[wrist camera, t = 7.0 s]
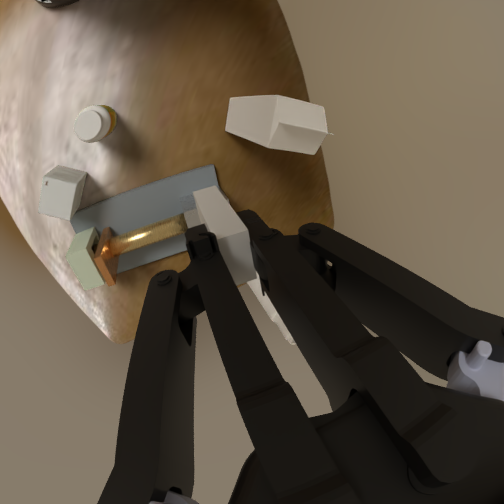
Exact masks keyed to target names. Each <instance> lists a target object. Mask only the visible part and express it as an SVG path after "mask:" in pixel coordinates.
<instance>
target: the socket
mask: <svg viewBox="0 0 504 504" xmlns="http://www.w3.org/2000/svg"><path fill="white" fill-rule="evenodd" d="M99 240H100V238H99V236H98V234H97V231H96V229H95V227H92V228H89V229H87V230H84V231H82V232H80V233H77V234H76V235H75V237H74V239H73V241H72V243H71V245H70V247H69V250H68V252H67V254H66V256H65V257H66V259H67V261H68V263H69V264H70V266H71V268H72V270H73V271H74V273H75V275H76V277H77V278H78V280H79V282H80V283H81V285H82V287H83V288H84V290H85V291H87V290H89V289H92V288H95V287H98V286H101V285H104V284H105V279H104V277H103V275H102V273H101V272H100V270H99V268H98V266H97V264H96V262H95V260H94V256H95V255H94V253H93V251H92V249H91V247H92V245H94V244H97V243H99Z"/></svg>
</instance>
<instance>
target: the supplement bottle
mask: <svg viewBox="0 0 504 504" xmlns="http://www.w3.org/2000/svg"><path fill="white" fill-rule="evenodd" d="M116 123H117V116H116V113H115V111H114V110H113V109H112V108H111V107H109V106H105V105H92V106H88V107H86V108H85V109H83V110H82V111H81V112H80V113H79V115H78V116H77V118H76V120H75V123H74V132H75V134H76V136H77V137H78V138H79V139H81V140H82V141H84V142H88V143H92V142H96V141H99V140H101V139H102V138H104V137H106V136H107V135H109V134H110V133H111V132H112V131H113V130H114V128H115V126H116Z"/></svg>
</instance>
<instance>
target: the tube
mask: <svg viewBox="0 0 504 504" xmlns="http://www.w3.org/2000/svg"><path fill="white" fill-rule="evenodd" d="M187 229H188V226H187V223H186V220H185V216H184V213H182V214H178V215H175V216H172V217H169V218H166V219H163V220H160V221H157V222H154V223H152V224H149V225H146V226H143V227H140V228H137V229H134V230H132V231H129V232H126V233H123V234H121V235H118V236H115V237H114V236H113V234H112V232H111V230H110V227H107V228H104V229H103V231H102V234H101V237H100V240H99V243H97V244H94V245H92V247H91V249H92V251H93V253H94V255H95V256H94V260H95V262H96V264H97V266H98V268H99V270H100V272H101V273H102V275H103V277H104V279H105V281H106V282H107V284H108V286H112V285H115V284H116V276H117V269H118V262H119V255H122V254H125V253H128V252H130V251H133V250H136V249H139V248H142V247H145V246H148V245H151V244H153V243H156V242H159V241H162V240H165V239H168V238H171V237H174V236H177V235H180V234H183V233H185V232H186V230H187Z"/></svg>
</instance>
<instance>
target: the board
mask: <svg viewBox="0 0 504 504" xmlns="http://www.w3.org/2000/svg"><path fill="white" fill-rule="evenodd" d="M211 186H216V187H217V186H218V182H217V177H216V173H215V168H214V165H213V164H210V165H207V166H203V167H200V168H196V169H193V170H189V171H186V172H183V173H180V174H176V175H173V176H170V177H167V178H164V179H161V180H158V181H155V182H152V183H149V184H146V185H143V186H140V187H137V188H135V189H132V190H129V191H126V192H124V193H121V194H118V195H116V196H113V197H111V198H108V199H105V200H103V201H100V202H98V203H95V204H93V205H91V206H88V207H86V208H83V209H81V210H79V211H76V212H75V214H74V215H73V217H72V218H71V220H70V222H71V224H72V227H73V229H74V231H75V233H76V234H77V233H80V232H82V231H84V230H87V229H89V228H92V227H95V229H96V231H97V234H98V236H99V238H100V237H101V234H102V231H103V229H104V228H107V227H110V230H111V232H112V234H113V236H114V237H115V236H118V235H121V234H123V233H126V232H129V231H132V230H134V229H137V228H140V227H143V226H146V225H149V224H152V223H154V222H157V221H160V220H163V219H166V218H169V217H172V216H175V215H178V214H182V213H183V210H182V206H181V202H180V199H179V198H180V197H184V196H187V195H190V194H193V192H194V191H198V190H201V189H204V188H208V187H211ZM185 250H187V247H186V238H185V233H183V234H180V235H177V236H174V237H171V238H168V239H165V240H162V241H159V242H156V243H153V244H151V245H148V246H145V247H142V248H139V249H136V250H133V251H130V252H128V253H125V254H122V255H119V262H118V269H117V274H118V273H121V272H124V271H126V270H129V269H132V268H135V267H138V266H141V265H144V264H147V263H150V262H153V261H156V260H159V259H161V258H164V257H167V256H170V255H173V254H176V253H179V252H182V251H185Z"/></svg>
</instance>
